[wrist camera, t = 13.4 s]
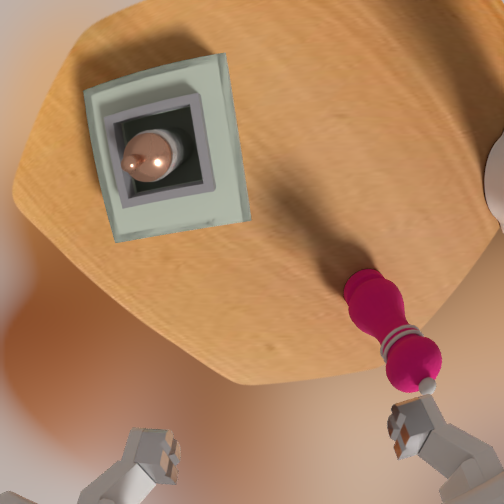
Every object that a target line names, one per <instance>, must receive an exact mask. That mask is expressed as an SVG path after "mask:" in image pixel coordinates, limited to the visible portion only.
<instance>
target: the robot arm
mask: <svg viewBox="0 0 504 504" xmlns="http://www.w3.org/2000/svg"><path fill="white" fill-rule="evenodd" d="M484 187H485V196H486V201H487V204H488V207H489V209H490V211H491V213H492V214H493V215H494V216H495V218H496V219H497V220H498V221H499V223H500V226H501V229H502V232H503V233H504V132H503V134H502V136H501V137H500V138H499V139H498V140H497V141H496V143H495V144H494V146H493V147H492V149H491V151H490V154H489V157H488V160H487V164H486V169H485V179H484ZM391 411H392V414H391V415H390V416H389V418H388V421H387V428H388V432H389V436H390V438H391V439H393V440H394V441H396V442H395V444H394V450H395V453H396V456H397V458H398V460H401V459H404V458H407V457H411V456H414V455H417V454H418V456H419V457H420V458H422V459H423V460H424V461H426V462H427V463H428V464H430V465H431V466H432V467H433V468H434V469H436V470H437V471H438V472H440V473H441V474H442V475H444V476H445V477H446V478H447V479H448V480H447V481H446V482H445V483H444V484H443V485H442V486H441V488H440V489H439V492H440V495H441V498H442V501H443V503H442V504H504V469H503V467H502V465H501V463H500V461H499V459H498V457H497V455H496V453H495V451H494V449H493V447H492V446H490V445H488V444H487V443H485V442H483V441H481V440H479V439H477V438H476V437H474V436H472V435H470V434H468V433H466V432H465V431H463V430H461V429H459V428H457V427H456V426H454V425H452V424H447V423H446V421H445V419H444V418H443V416H442V414H441V412H440V410H439V408H438V406H437V404H436V403H435V401H434V399H433V397H432V395H430V394H426V395H423V396H420V397H416V398H413V399H410V400H406V401H403V402H400V403H396V404H394V405H393V406H392V408H391ZM173 435H174V434H173V433H172V431H171V430H161V429H146V428H132V429H131V431H130V433H129V436H128V440H127V443H126V446H125V449H124V453H123V456H122V460H121V461H117V462H116V463H115V464H113V465H112V466H111V467H110V468H109V469H107V471H105V472H104V473H103V474H102V475H100V476H99V477H98V478H97V479H96V480H95V481H93V482H92V483H91V484H90V485H88V486H87V487H86V488H85V489H84V490H82V491H81V493H80V496H79V499H78V502H77V504H140V503H141V501H142V500H143V499H144V498H145V497H146V496H147V495H148V494H149V492H150V491H151V490H152V489H153V488H154V487H155V485H156V483H159V484H172V485H176V484H177V478H178V469H177V468H176V465H177V464H178V463H179V462H180V458H181V448H180V445H179V443H178V441H177V440H175V439H173ZM0 504H37V503H35V502H33V501H30V500H28V499H26V498H24V497H22V496H20V495H18V494H16V493H14V492H11V491H6V492H4V493H2V494H0Z"/></svg>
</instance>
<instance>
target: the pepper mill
mask: <svg viewBox="0 0 504 504" xmlns="http://www.w3.org/2000/svg"><path fill="white" fill-rule="evenodd" d="M344 298H345V301H346V303H347V304H348V306H349V315H350V318H351V319H352V321H353V322H354V324H355V325H356V326H357V327H358V328H359V329H360V330H362V331H363V332H365V333H367V334H369V335H371V336H373V337H375V338H376V339H377V340H378V341H379V342H380V344H381V348H380V353H381V356H382V357H383V359H384V362H385V363H386V374H387V377H388V379H389V381H390V382H391V384H392V385H393V386H394V387H395V388H396V389H398V390H400V391H402V392H406V393H408V392H409V393H411V392H416V391H420V393H421V394H422V395H426V394H430V395H431V394H432V393H433V392H434V391H435V389H436V382H435V379H436V377H437V375H438V373H439V371H440V369H441V364H442V357H441V352H440V350H439V348H438V346H437V345H436V344H435V342H434V341H432V340H431V339H429V338H427V337H424V336H423V334H422V333H421V332H420V330H419V329H418V328H417V327H416V326H414V325H410V324H409V323H408V322H407V320H406V318H405V311H404V302H403V298H402V295H401V293H400V291H399V289H398V288H397V286H396V285H395V284H394V283H393V282H391V281H389V280H387V279H385V278H384V277H383V276H382V274H381V273H380V272H378V271H376V270H373V269H364V270H361V271H358V272H357V273H355V274H354V275H352V276H351V278H350V279H349V280H348V281H347V283H346V285H345V288H344Z"/></svg>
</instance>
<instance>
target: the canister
mask: <svg viewBox="0 0 504 504" xmlns="http://www.w3.org/2000/svg"><path fill="white" fill-rule="evenodd" d="M192 151H193V141H192V138H191V136H190V134H189V133H188V132H187V131H185V130H184V129H182V128H179V127H169V128H161V129H154V130H146V131H143V132H140V133H138V134H137V135H136V136H134V137H133V138H132V139H131V140H130V141H129V142H128V144H127V145H126V147H125V150H124V154H123V159H122V161H121V168H122V169H123V170H124V171H126V172H128V173H129V174H130V176H132V177H133V178H134V179H136V180H138V181H142V182H154V181H158V180H160V179H162V178H164V177H165V176H167V175H168V174H169V173H171V172H172V171H173V170H175V169H176V168H177V167H179V166H180V165H182V164H183V163H184V162H186V161H187V160H188V159H189V157H190V156H191V154H192Z"/></svg>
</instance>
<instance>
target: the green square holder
mask: <svg viewBox="0 0 504 504" xmlns="http://www.w3.org/2000/svg"><path fill="white" fill-rule="evenodd" d="M83 92H84V100H85V107H86V114H87V121H88V127H89V133H90V138H91V144H92V149H93V154H94V159H95V164H96V169H97V174H98V178H99V182H100V187H101V191H102V195H103V199H104V203H105V207H106V211H107V215H108V219H109V222H110V226H111V230H112V233H113V237H114V240H115V243H119V242H125V241H130V240H136V239H141V238H147V237H153V236H159V235H164V234H170V233H176V232H182V231H188V230H194V229H201V228H207V227H213V226H220V225H226V224H232V223H239V222H246V221H251V214H250V205H249V198H248V192H247V185H246V179H245V172H244V166H243V159H242V153H241V146H240V140H239V133H238V127H237V120H236V114H235V107H234V101H233V94H232V88H231V82H230V75H229V69H228V63H227V58H226V53H220V54H214V55H208V56H203V57H198V58H193V59H188V60H183V61H179V62H175V63H170V64H166V65H162V66H158V67H154V68H151V69H147V70H144V71H140V72H137V73H133V74H130V75H127V76H124V77H120V78H117V79H114V80H111V81H108V82H105V83H103V84H100V85H97V86H94V87H92V88H89V89H86V90H84V91H83ZM169 127H179V128H182V129H184V130H185V131H187V132H188V133H189V134H190V136H191V138H192V141H193V151H192V154H191V156H190V157H189V159H188V160H187V161H186V162H184V163H183V164H182V165H180V166H179V167H177V168H176V169H175V170H173V171H172V172H171V173H169V174H168V175H167V176H165V177H164V178H162V179H160V180H158V181H154V182H142V181H138V180H136V179H134V178H133V177H132V176H130V174H129V173H128V172H126V171H124V170H123V169H122V168H121V161H122V159H123V154H124V150H125V147H126V145H127V144H128V142H129V141H130V140H131V139H132V138H133V137H134V136H136V135H137V134H138V133H140V132H143V131H146V130H154V129H161V128H169Z"/></svg>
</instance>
